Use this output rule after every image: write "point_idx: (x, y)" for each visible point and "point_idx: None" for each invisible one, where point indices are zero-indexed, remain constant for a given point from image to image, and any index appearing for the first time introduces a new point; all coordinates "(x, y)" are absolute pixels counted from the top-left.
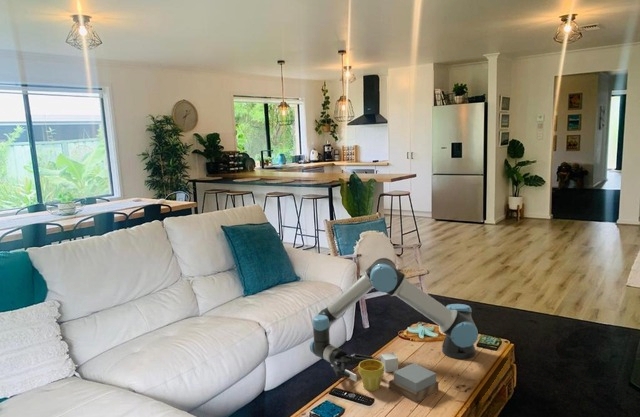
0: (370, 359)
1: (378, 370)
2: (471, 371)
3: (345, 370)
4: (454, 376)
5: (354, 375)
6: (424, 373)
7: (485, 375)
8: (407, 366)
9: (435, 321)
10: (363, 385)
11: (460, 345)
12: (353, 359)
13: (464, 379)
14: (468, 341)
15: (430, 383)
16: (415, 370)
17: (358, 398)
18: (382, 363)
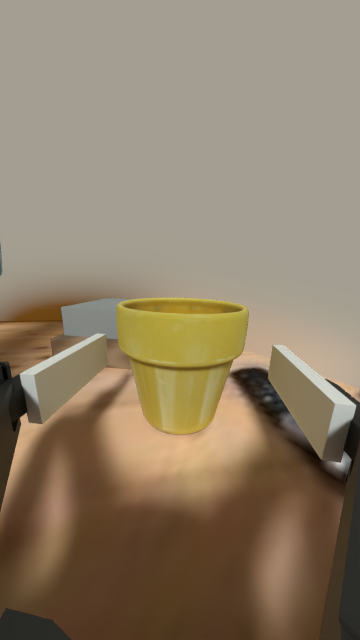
0: (127, 308)
1: (194, 300)
2: (9, 327)
3: (345, 397)
4: (36, 332)
5: (285, 349)
6: (117, 300)
7: (28, 321)
8: (91, 308)
9: None
10: (214, 412)
11: (1, 270)
12: None
13: (49, 327)
14: (1, 261)
15: None
16: (109, 303)
17: (280, 398)
18: (140, 299)
